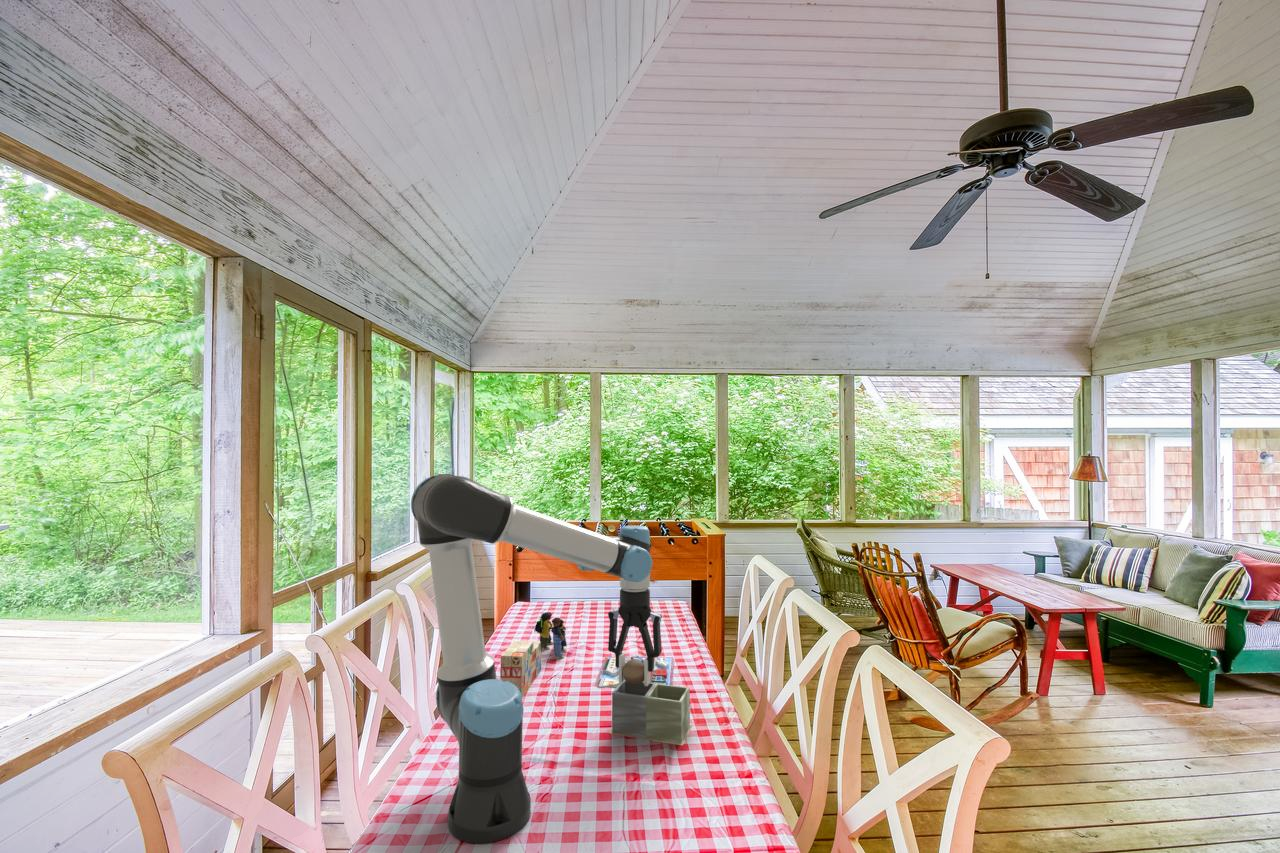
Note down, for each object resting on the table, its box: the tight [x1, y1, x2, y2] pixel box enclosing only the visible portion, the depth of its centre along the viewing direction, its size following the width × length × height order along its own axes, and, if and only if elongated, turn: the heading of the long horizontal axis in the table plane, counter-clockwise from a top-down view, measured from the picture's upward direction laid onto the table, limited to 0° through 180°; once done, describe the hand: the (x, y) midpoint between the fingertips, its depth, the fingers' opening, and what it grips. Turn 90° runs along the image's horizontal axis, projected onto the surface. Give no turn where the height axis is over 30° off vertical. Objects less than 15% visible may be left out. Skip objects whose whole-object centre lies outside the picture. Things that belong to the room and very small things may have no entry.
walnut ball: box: [623, 659, 644, 685], centre depth 141 cm, size 6×6×6 cm
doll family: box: [531, 611, 569, 660], centre depth 198 cm, size 23×9×13 cm, turn 42°
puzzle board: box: [594, 654, 675, 690], centre depth 174 cm, size 30×23×3 cm
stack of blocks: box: [499, 640, 542, 699], centre depth 169 cm, size 21×6×12 cm, turn 175°
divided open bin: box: [608, 680, 693, 747], centre depth 140 cm, size 10×18×10 cm, turn 72°
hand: (634, 682), depth 141 cm, fingers closed on walnut ball, 6 cm apart
